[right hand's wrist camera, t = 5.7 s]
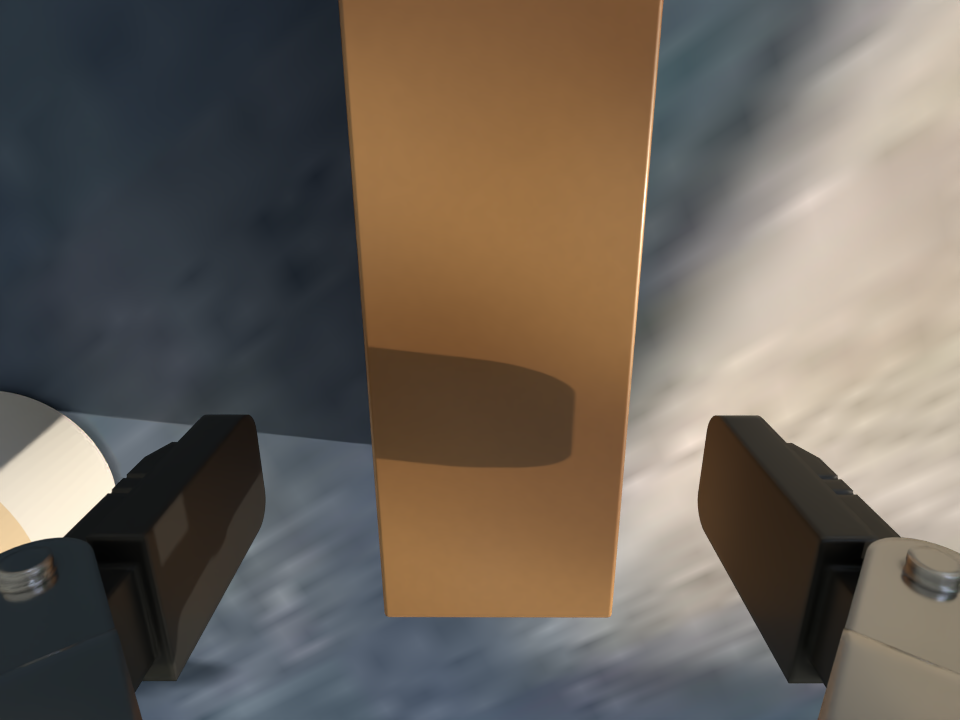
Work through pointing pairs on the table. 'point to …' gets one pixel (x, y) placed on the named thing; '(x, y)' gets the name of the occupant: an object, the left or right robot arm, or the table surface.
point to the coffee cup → (45, 472)
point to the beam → (499, 290)
